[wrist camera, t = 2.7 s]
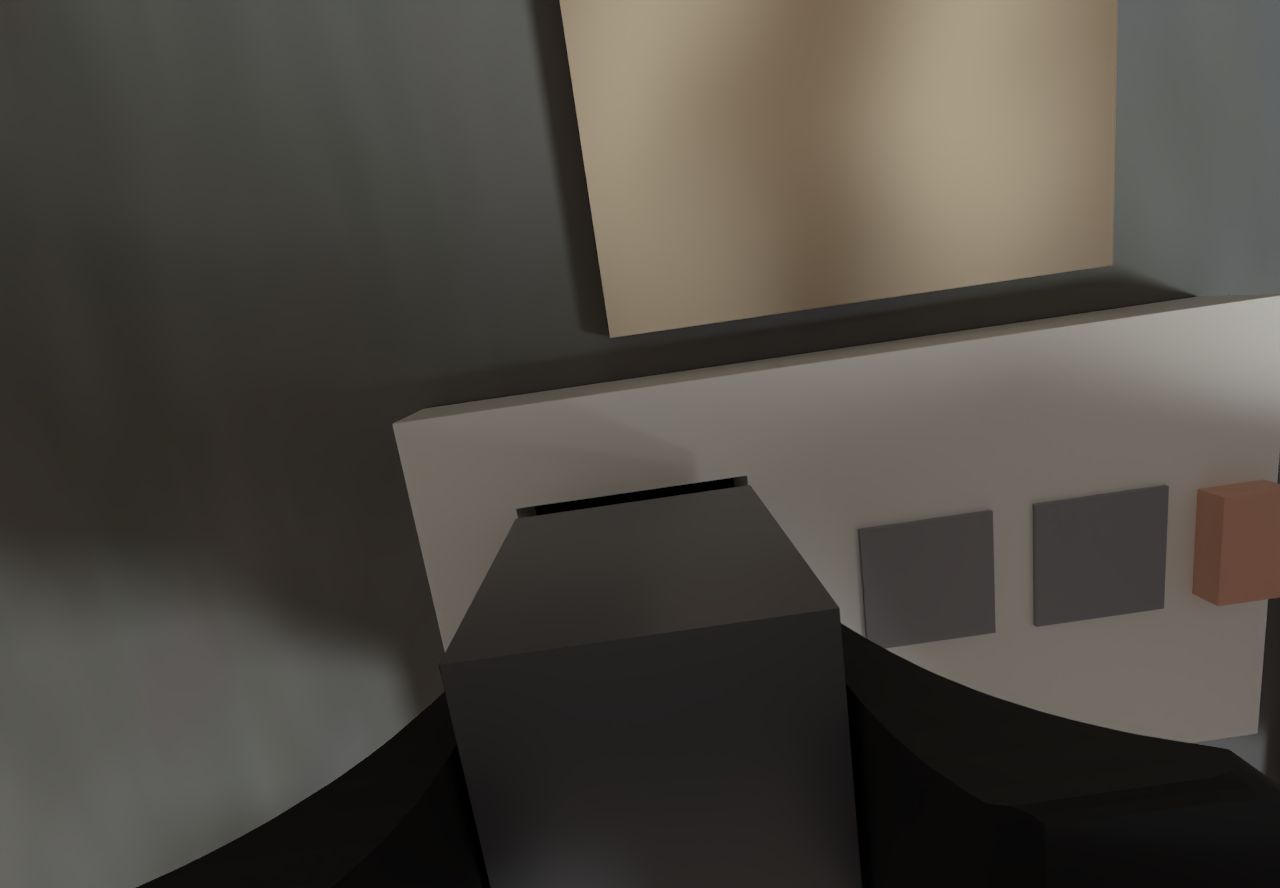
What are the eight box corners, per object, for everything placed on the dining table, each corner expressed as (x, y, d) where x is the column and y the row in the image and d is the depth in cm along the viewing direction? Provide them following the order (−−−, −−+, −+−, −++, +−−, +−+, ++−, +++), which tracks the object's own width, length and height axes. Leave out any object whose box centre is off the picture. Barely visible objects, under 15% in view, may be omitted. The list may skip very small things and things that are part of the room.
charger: (728, 455, 14) (839, 608, 7) (755, 687, 15) (872, 1025, 8) (534, 483, 14) (438, 665, 7) (576, 712, 15) (533, 1072, 8)
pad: (1099, -332, 12) (1124, -365, 11) (1092, 267, 14) (1113, 265, 13) (523, -247, 12) (518, -276, 11) (610, 337, 14) (610, 338, 13)
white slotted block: (1200, 296, 14) (1326, 292, 12) (1181, 683, 16) (1285, 751, 14) (423, 408, 14) (380, 429, 12) (504, 779, 16) (483, 865, 14)
